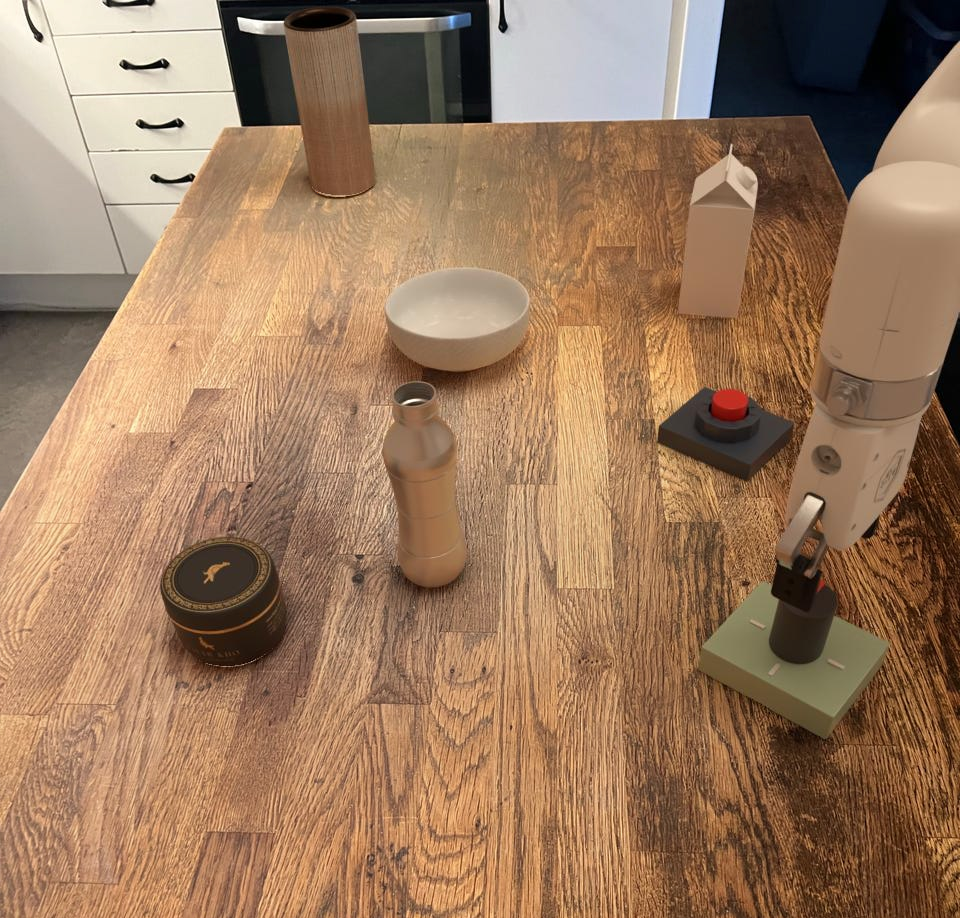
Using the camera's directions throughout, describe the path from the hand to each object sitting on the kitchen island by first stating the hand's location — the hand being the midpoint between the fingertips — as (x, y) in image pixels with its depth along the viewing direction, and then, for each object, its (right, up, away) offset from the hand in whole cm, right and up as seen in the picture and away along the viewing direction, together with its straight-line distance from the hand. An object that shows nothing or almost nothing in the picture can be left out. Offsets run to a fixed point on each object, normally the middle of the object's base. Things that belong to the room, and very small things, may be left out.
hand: (822, 565), depth 76 cm
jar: (-49, -5, +15) cm, 51 cm away
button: (0, +18, +27) cm, 33 cm away
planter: (-47, +64, +77) cm, 111 cm away
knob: (0, -6, +6) cm, 9 cm away
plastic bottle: (-31, +1, +19) cm, 36 cm away
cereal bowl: (-29, +29, +44) cm, 60 cm away
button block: (0, +16, +30) cm, 34 cm away
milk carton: (+2, +35, +47) cm, 59 cm away
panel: (0, -8, +9) cm, 12 cm away
